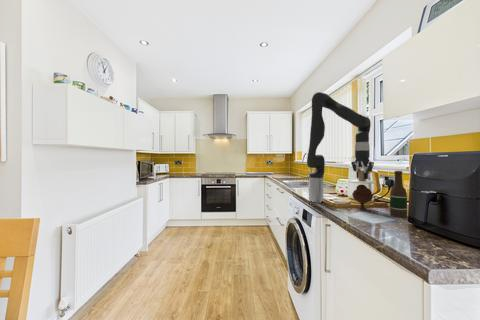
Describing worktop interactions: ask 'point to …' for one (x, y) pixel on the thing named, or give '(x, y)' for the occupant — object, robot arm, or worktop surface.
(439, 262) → the worktop surface
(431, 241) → the worktop surface
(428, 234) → the worktop surface
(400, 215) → the beer bottle
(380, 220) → the mat
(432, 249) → the worktop surface
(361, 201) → the ice cream bowl
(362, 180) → the lid
